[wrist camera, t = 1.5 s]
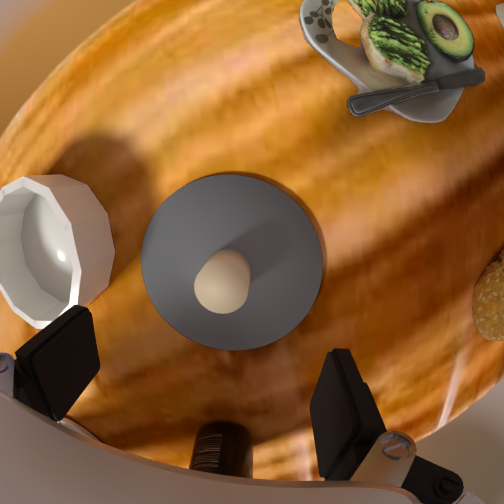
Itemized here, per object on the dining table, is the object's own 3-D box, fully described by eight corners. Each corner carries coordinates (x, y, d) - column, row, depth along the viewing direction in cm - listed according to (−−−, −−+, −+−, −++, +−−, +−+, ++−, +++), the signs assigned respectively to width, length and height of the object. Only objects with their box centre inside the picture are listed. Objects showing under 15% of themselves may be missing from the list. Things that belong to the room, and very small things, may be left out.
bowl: (69, 325, 25) (41, 350, 19) (9, 234, 23) (-23, 245, 17) (139, 256, 23) (109, 276, 17) (65, 148, 20) (26, 145, 15)
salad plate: (411, 184, 21) (441, 186, 16) (249, 49, 18) (247, 21, 14) (483, 68, 17) (507, 59, 12) (361, -38, 15) (372, -60, 10)
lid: (220, 370, 25) (212, 403, 21) (114, 252, 23) (85, 266, 18) (353, 282, 23) (372, 305, 18) (243, 136, 20) (238, 123, 16)
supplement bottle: (196, 446, 29) (179, 521, 17) (197, 415, 27) (176, 502, 15) (249, 454, 29) (245, 531, 17) (258, 423, 27) (256, 513, 15)
